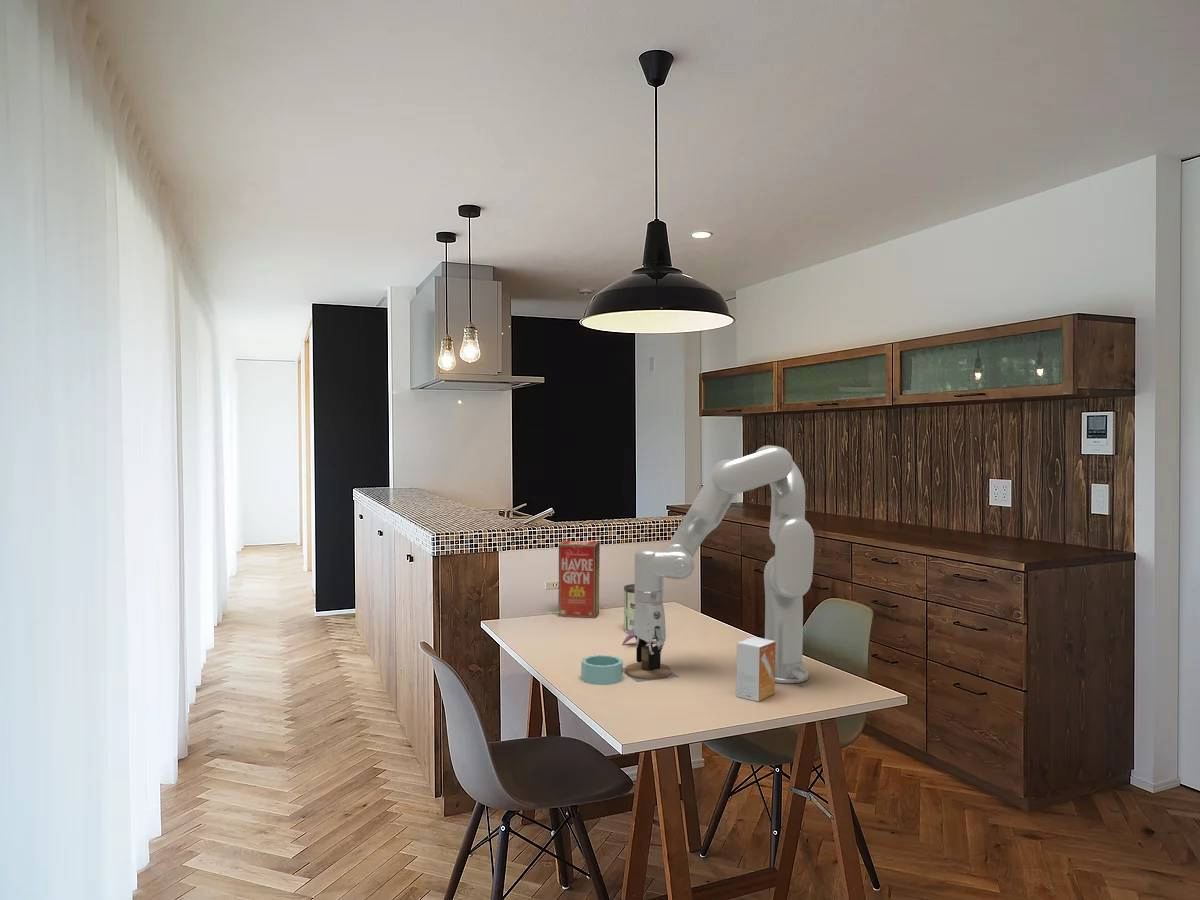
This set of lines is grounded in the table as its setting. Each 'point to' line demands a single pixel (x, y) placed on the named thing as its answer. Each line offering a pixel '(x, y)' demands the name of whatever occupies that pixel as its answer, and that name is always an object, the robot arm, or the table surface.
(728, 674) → the table surface
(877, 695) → the table surface
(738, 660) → the small box
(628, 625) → the coffee can
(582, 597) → the food packaging
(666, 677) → the mat
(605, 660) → the bowl
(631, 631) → the lily
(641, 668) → the lid
